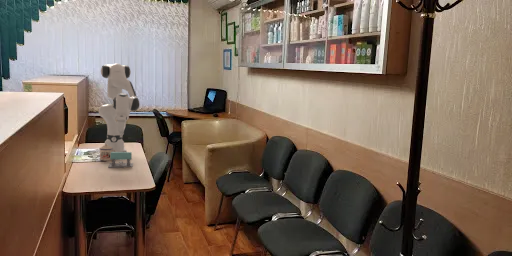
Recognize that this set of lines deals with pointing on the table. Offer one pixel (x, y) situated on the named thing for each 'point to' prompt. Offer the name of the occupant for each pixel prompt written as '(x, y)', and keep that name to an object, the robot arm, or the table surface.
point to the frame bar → (121, 155)
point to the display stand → (120, 164)
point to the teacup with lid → (105, 152)
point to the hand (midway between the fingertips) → (121, 135)
